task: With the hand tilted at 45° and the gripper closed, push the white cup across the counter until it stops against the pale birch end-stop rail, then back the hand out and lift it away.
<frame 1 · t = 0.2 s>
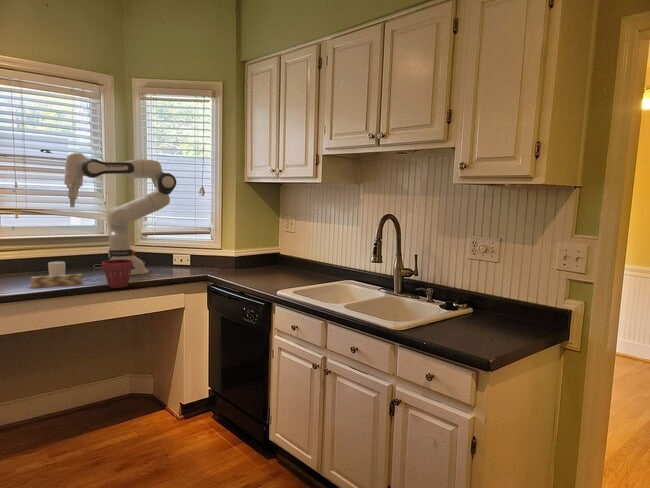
hand: (72, 207, 256), 38 cm above the counter, tool pointing down, fingers open, 8 cm apart
end stop: (57, 285, 235), on the counter
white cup: (57, 281, 246), on the counter
plant pot: (118, 286, 237), on the counter
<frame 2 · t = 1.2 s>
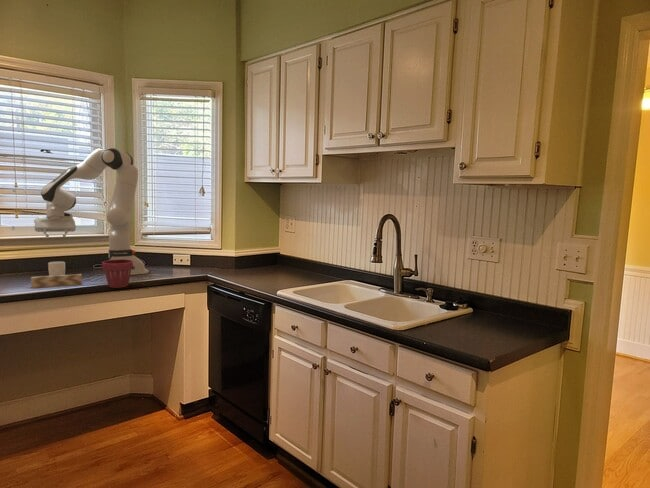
hand: (55, 236, 261), 22 cm above the counter, tool tilted 45°, fingers open, 7 cm apart
nothing on the counter moved.
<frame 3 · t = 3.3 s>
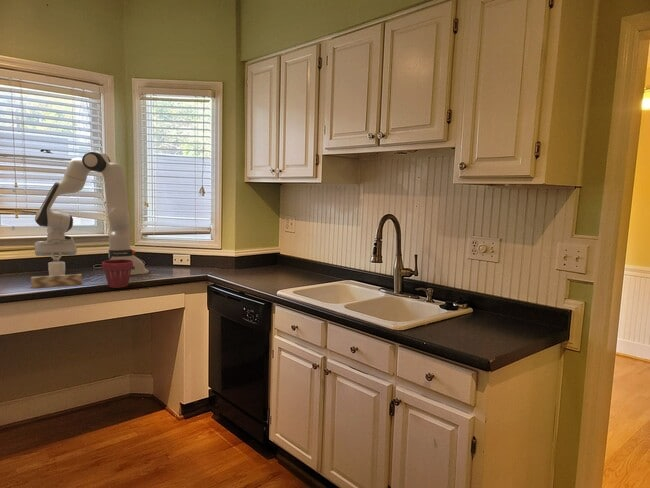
hand: (56, 260, 257), 9 cm above the counter, tool tilted 45°, fingers closed
nothing on the counter moved.
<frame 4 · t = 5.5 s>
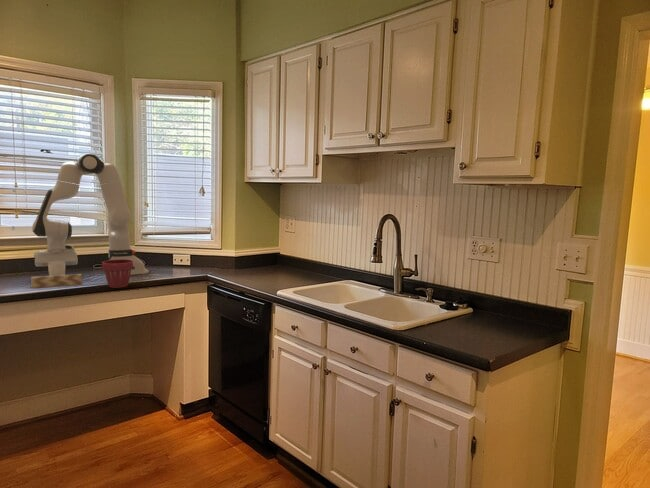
hand: (56, 271, 248), 5 cm above the counter, tool tilted 45°, fingers closed, pressing on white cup
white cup: (57, 281, 245), on the counter, touching gripper
everything else where it was.
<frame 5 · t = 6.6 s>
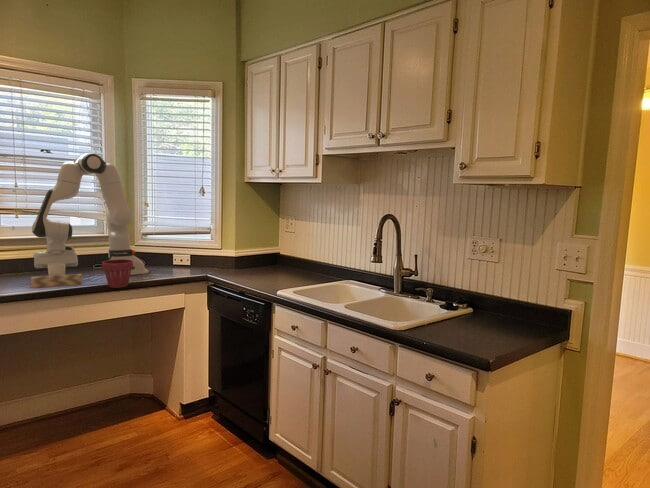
hand: (56, 272, 243), 5 cm above the counter, tool tilted 45°, fingers closed, pressing on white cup
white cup: (57, 283, 240), on the counter, touching gripper
everything else where it was.
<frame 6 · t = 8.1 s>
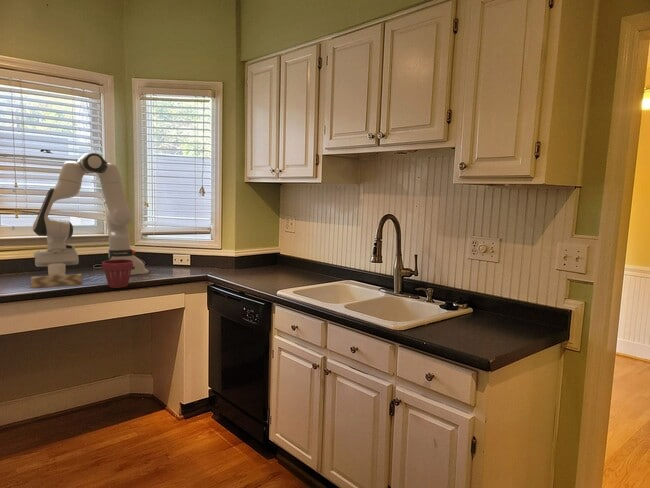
hand: (57, 271, 244), 6 cm above the counter, tool tilted 45°, fingers closed
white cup: (57, 284, 239), on the counter
everything else where it was.
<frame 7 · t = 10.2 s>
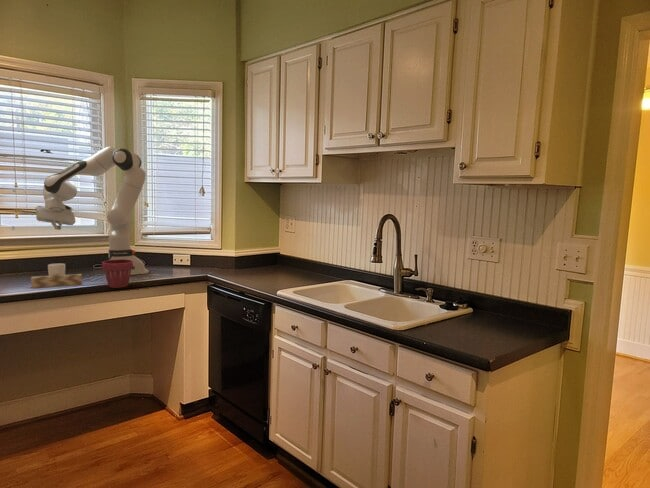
hand: (58, 229, 262), 26 cm above the counter, tool tilted 35°, fingers closed
nothing on the counter moved.
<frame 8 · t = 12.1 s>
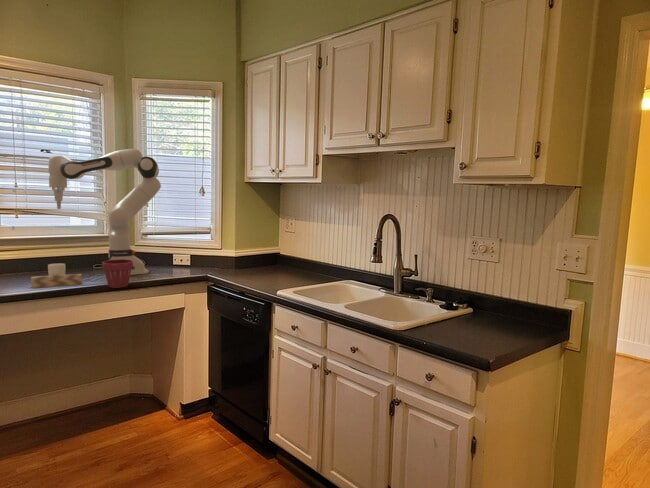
hand: (59, 208, 264), 37 cm above the counter, tool pointing down, fingers closed
nothing on the counter moved.
at the end: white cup 0.4 cm from the target spot, on the counter; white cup tilted 0°; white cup moved 7.2 cm from its start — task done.
